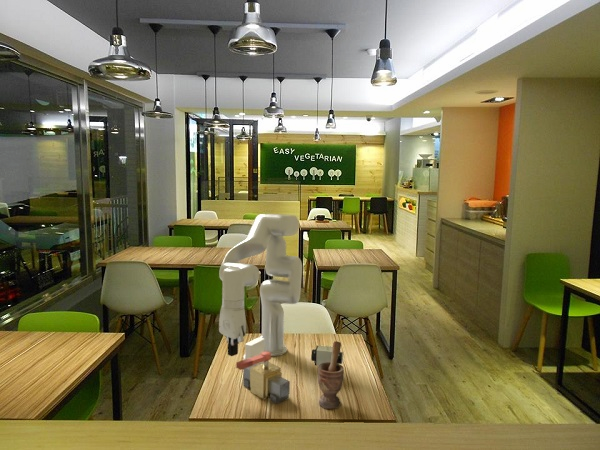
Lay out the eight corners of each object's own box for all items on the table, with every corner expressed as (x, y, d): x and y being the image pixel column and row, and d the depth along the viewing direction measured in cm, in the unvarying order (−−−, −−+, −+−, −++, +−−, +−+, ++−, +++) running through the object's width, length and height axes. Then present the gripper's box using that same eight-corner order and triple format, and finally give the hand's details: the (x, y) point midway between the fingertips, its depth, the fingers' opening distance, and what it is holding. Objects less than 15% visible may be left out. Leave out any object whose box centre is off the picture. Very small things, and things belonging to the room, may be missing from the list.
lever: (266, 355, 163) (266, 350, 163) (273, 358, 160) (273, 353, 160) (235, 367, 153) (235, 361, 153) (241, 370, 151) (241, 364, 150)
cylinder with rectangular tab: (256, 377, 173) (257, 347, 171) (238, 371, 177) (238, 342, 176) (270, 369, 180) (271, 340, 179) (252, 363, 185) (252, 335, 183)
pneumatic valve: (341, 380, 172) (342, 349, 170) (310, 376, 174) (311, 346, 173) (342, 373, 177) (343, 344, 176) (313, 370, 180) (313, 341, 178)
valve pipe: (239, 385, 166) (239, 353, 165) (256, 378, 172) (256, 347, 170) (275, 406, 152) (276, 371, 150) (292, 398, 158) (293, 364, 156)
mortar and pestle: (317, 392, 162) (318, 338, 159) (341, 393, 162) (343, 339, 159) (317, 409, 150) (318, 352, 148) (343, 410, 150) (345, 353, 148)
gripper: (211, 300, 159) (211, 351, 161) (237, 310, 148) (237, 364, 150) (229, 297, 164) (228, 346, 166) (255, 306, 154) (254, 358, 156)
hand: (232, 354), depth 158 cm, fingers closed
